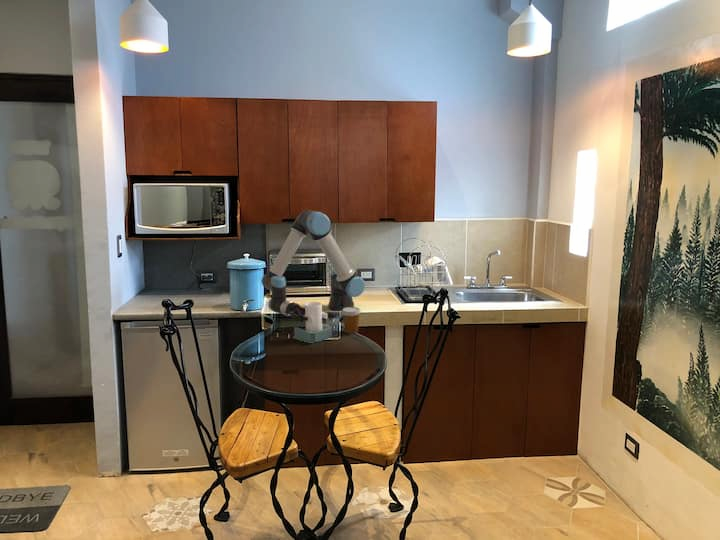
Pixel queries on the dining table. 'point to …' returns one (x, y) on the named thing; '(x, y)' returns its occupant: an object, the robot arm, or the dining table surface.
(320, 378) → the dining table surface
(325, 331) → the end holder
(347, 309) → the disposable coffee cup
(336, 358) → the dining table surface
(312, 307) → the cup
